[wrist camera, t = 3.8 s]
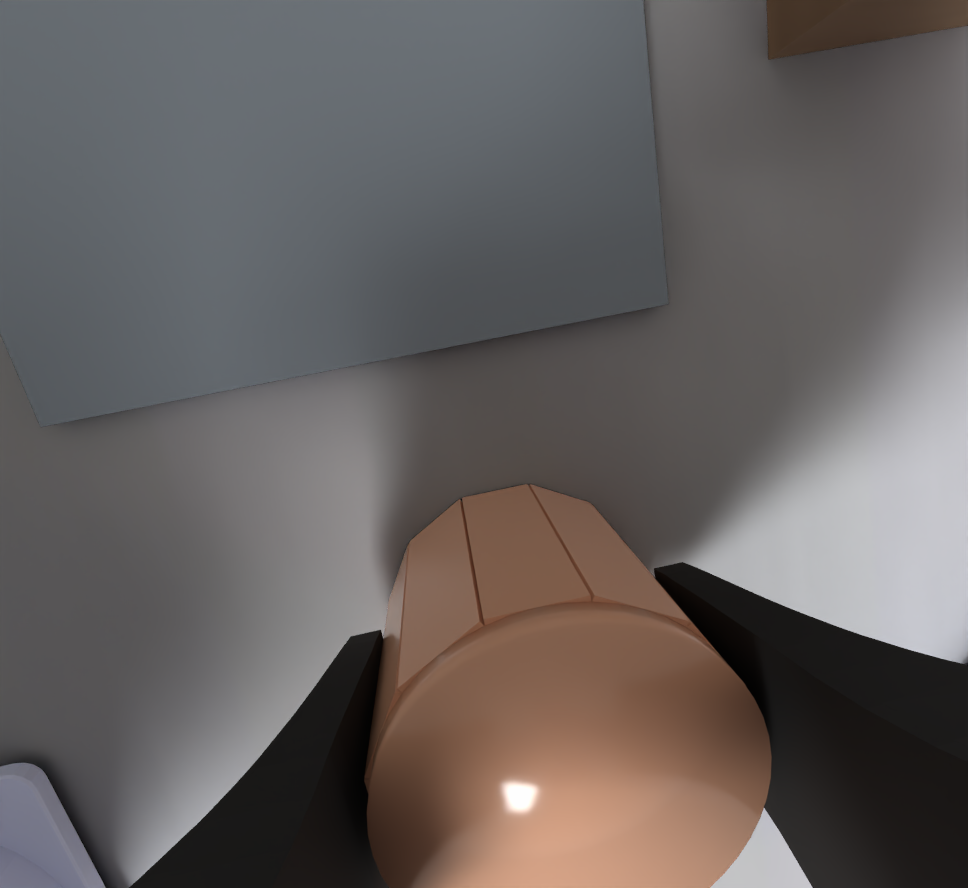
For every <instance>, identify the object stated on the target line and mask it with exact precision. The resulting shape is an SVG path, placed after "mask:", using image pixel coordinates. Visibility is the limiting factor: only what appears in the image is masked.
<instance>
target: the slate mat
mask: <svg viewBox="0 0 968 888" xmlns="http://www.w3.org/2000/svg"><path fill="white" fill-rule="evenodd" d="M667 304H669V302H668V290H667V278H666V266H665V254H664V242H663V231H662V219H661V207H660V195H659V183H658V171H657V159H656V147H655V135H654V123H653V111H652V99H651V87H650V75H649V63H648V51H647V39H646V27H645V15H644V3H643V0H0V335H1V337H2V339H3V342H4V344H5V346H6V349H7V351H8V353H9V356H10V358H11V360H12V363H13V365H14V367H15V369H16V372H17V374H18V376H19V379H20V381H21V383H22V386H23V388H24V390H25V393H26V395H27V397H28V400H29V402H30V404H31V407H32V409H33V411H34V413H35V416H36V418H37V420H38V423H39V425H40V427H44V426H49V425H54V424H60V423H65V422H70V421H75V420H80V419H85V418H90V417H95V416H100V415H106V414H111V413H116V412H121V411H126V410H131V409H136V408H141V407H146V406H151V405H157V404H162V403H167V402H172V401H177V400H182V399H187V398H192V397H197V396H203V395H208V394H213V393H218V392H223V391H228V390H233V389H238V388H243V387H248V386H254V385H259V384H264V383H269V382H274V381H279V380H284V379H289V378H294V377H299V376H305V375H310V374H315V373H320V372H325V371H330V370H335V369H340V368H345V367H351V366H356V365H361V364H366V363H371V362H376V361H381V360H386V359H391V358H396V357H402V356H407V355H412V354H417V353H422V352H427V351H432V350H437V349H442V348H448V347H453V346H458V345H463V344H468V343H473V342H478V341H483V340H488V339H493V338H499V337H504V336H509V335H514V334H519V333H524V332H529V331H534V330H539V329H544V328H550V327H555V326H560V325H565V324H570V323H575V322H580V321H585V320H590V319H596V318H601V317H606V316H611V315H616V314H621V313H626V312H631V311H636V310H641V309H647V308H652V307H657V306H662V305H667Z"/></svg>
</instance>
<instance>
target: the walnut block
mask: <svg viewBox="0 0 968 888" xmlns="http://www.w3.org/2000/svg"><path fill="white" fill-rule="evenodd" d="M962 26H968V0H767V28H768V60H770V59H775V58H781V57H787V56H793V55H799V54H805V53H810V52H816V51H822V50H828V49H834V48H839V47H845V46H851V45H857V44H863V43H869V42H874V41H880V40H886V39H892V38H898V37H904V36H909V35H915V34H921V33H927V32H933V31H939V30H944V29H950V28H956V27H962Z"/></svg>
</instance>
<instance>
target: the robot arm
mask: <svg viewBox="0 0 968 888" xmlns="http://www.w3.org/2000/svg"><path fill="white" fill-rule="evenodd" d="M654 572H655V578H656V580H657V581H658V582H659V583H660V584H661V585H662V587H663V588H664V589H665V590H666V591H667V593H668V594H669V595H670V596H671V597H672V598H673V600H674V601H675V602H676V603H677V604H678V606H679V607H680V608H681V609H682V610H683V611H684V613H685V614H686V615H687V616H688V617H689V619H690V620H691V621H692V622H693V623H694V624H695V626H696V627H697V628H698V629H699V630H700V632H701V633H702V634H703V635H704V636H705V637H706V639H707V640H708V641H709V642H710V643H711V644H712V646H713V647H714V648H715V649H716V650H717V652H718V653H719V654H720V655H721V656H722V657H723V659H724V660H725V661H726V662H727V663H728V665H729V666H730V667H731V668H732V669H733V670H734V672H735V673H736V674H737V675H738V676H739V678H740V679H741V680H742V681H743V682H744V683H745V685H746V687H747V689H748V690H749V691H750V693H751V694H752V696H753V697H754V699H755V701H756V703H757V705H758V707H759V709H760V711H761V713H762V715H763V718H764V721H765V724H766V728H767V731H768V734H769V740H770V748H771V756H772V759H771V779H770V784H769V789H768V795H767V799H766V802H765V805H764V808H765V809H766V811H767V812H768V814H769V816H770V817H771V819H772V820H773V822H774V823H775V825H776V826H777V828H778V829H779V831H780V833H781V834H782V836H783V838H784V839H785V841H786V843H787V844H788V846H789V848H790V850H791V851H792V853H793V855H794V856H795V858H796V860H797V861H798V863H799V865H800V867H801V868H802V870H803V872H804V873H805V875H806V877H807V879H808V880H809V882H810V884H811V885H812V887H813V888H968V665H964V664H960V663H956V662H952V661H948V660H944V659H940V658H936V657H933V656H929V655H925V654H922V653H918V652H914V651H911V650H908V649H904V648H901V647H898V646H895V645H891V644H888V643H885V642H882V641H879V640H875V639H872V638H869V637H866V636H862V635H860V634H857V633H854V632H851V631H848V630H845V629H842V628H839V627H837V626H834V625H831V624H829V623H826V622H823V621H821V620H818V619H815V618H813V617H810V616H807V615H805V614H802V613H800V612H797V611H795V610H792V609H790V608H787V607H785V606H782V605H780V604H778V603H775V602H773V601H771V600H768V599H766V598H764V597H761V596H759V595H757V594H754V593H752V592H750V591H748V590H745V589H743V588H741V587H739V586H736V585H734V584H732V583H730V582H728V581H725V580H723V579H721V578H719V577H717V576H714V575H712V574H710V573H708V572H705V571H703V570H701V569H698V568H696V567H694V566H691V565H688V564H686V563H683V562H682V563H677V564H673V565H668V566H664V567H659V568H655V569H654ZM382 646H383V636H382V633H381V630H378V631H374V632H369V633H365V634H360V635H356V636H351V637H350V638H349V640H348V641H347V642H346V644H345V645H344V647H343V648H342V649H341V651H340V652H339V654H338V655H337V656H336V658H335V659H334V661H333V662H332V663H331V665H330V666H329V668H328V669H327V670H326V672H325V673H324V675H323V676H322V677H321V679H320V680H319V682H318V683H317V684H316V686H315V687H314V689H313V690H312V691H311V693H310V694H309V695H308V697H307V698H306V699H305V701H304V702H303V703H302V705H301V706H300V707H299V709H298V710H297V711H296V713H295V714H294V715H293V717H292V718H291V719H290V720H289V722H288V723H287V724H286V725H285V726H284V728H283V729H282V730H281V731H280V733H279V734H278V735H277V736H276V738H275V739H274V740H273V741H272V742H271V744H270V745H269V746H268V747H267V749H266V750H265V751H264V752H263V754H262V755H261V756H260V757H259V758H258V760H257V761H256V762H255V763H254V764H253V765H252V766H251V768H250V769H249V770H248V771H247V772H246V773H245V774H244V775H243V777H242V778H241V779H240V780H239V781H238V782H237V783H236V784H235V785H234V786H233V788H232V789H231V790H230V791H229V792H228V793H227V794H226V795H225V796H224V797H223V798H222V799H221V800H220V801H219V802H218V803H217V804H216V805H215V806H214V808H213V809H212V810H211V811H210V812H209V813H208V814H207V815H206V816H205V817H204V818H203V819H202V820H201V821H200V822H199V823H198V824H197V825H196V826H195V827H194V828H193V829H191V830H190V831H189V832H188V833H187V834H186V835H185V836H184V837H183V838H182V839H181V840H180V841H179V842H178V843H177V844H176V845H175V846H173V847H172V848H171V849H170V850H169V851H168V852H167V853H166V854H165V855H164V856H163V857H162V858H161V859H160V860H159V861H158V862H156V863H155V864H154V865H153V866H152V867H151V868H150V869H149V870H148V871H147V872H146V873H145V874H144V875H143V876H142V877H141V878H139V879H138V880H137V881H136V882H135V883H134V884H133V885H132V886H130V887H129V888H389V887H388V885H387V884H386V882H385V880H384V879H383V877H382V876H381V874H380V871H379V869H378V867H377V864H376V862H375V860H374V857H373V854H372V850H371V846H370V842H369V837H368V828H367V805H368V796H369V794H368V791H367V788H366V785H365V782H364V778H365V777H364V775H365V768H366V761H367V754H368V746H369V739H370V732H371V725H372V718H373V710H374V703H375V696H376V689H377V681H378V674H379V667H380V660H381V653H382ZM0 888H106V887H105V885H104V884H103V882H102V880H101V878H100V876H99V874H98V872H97V870H96V868H95V867H94V865H93V863H92V861H91V859H90V857H89V855H88V853H87V851H86V850H85V848H84V846H83V844H82V842H81V840H80V838H79V836H78V834H77V833H76V831H75V829H74V827H73V825H72V823H71V821H70V819H69V817H68V815H67V814H66V812H65V810H64V808H63V806H62V804H61V802H60V800H59V798H58V797H57V795H56V793H55V791H54V789H53V787H52V785H51V783H50V781H49V780H48V778H47V776H46V774H45V773H44V772H43V770H42V769H41V768H39V767H37V766H35V765H33V764H29V763H13V764H9V765H5V766H0Z"/></svg>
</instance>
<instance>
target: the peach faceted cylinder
mask: <svg viewBox="0 0 968 888" xmlns="http://www.w3.org/2000/svg"><path fill="white" fill-rule="evenodd" d="M462 501H463V502H462ZM462 501H461V500H460V499H459V500H458V501H456V502H455V503H454V504H453V505H452V506H451V507H449V508H448V509H447V510H446V511H445V512H443V513H442V514H441V515H440V516H439V517H438V518H436V519H435V520H434V521H433V522H432V523H431V524H429V525H428V526H427V527H426V528H425V529H423V530H422V531H421V532H420V533H419V534H418V535H416V536H415V537H414V538H413V539H412V540H411V541H410V543H408V545H407V548H406V551H405V554H404V557H403V560H402V563H401V566H400V569H399V572H398V575H397V577H396V580H395V583H394V586H393V589H392V592H391V595H390V598H389V602H388V609H387V616H386V623H385V631H384V638H383V646H382V653H381V660H380V667H379V674H378V681H377V689H376V696H375V703H374V710H373V718H372V725H371V732H370V739H369V746H368V754H367V761H366V768H365V775H364V777H365V778H364V782H365V785H366V788H367V791H368V794H369V796H368V805H367V828H368V837H369V842H370V846H371V850H372V854H373V857H374V860H375V862H376V864H377V867H378V869H379V871H380V874H381V876H382V877H383V879H384V880H385V882H386V884H387V885H388V887H389V888H710V887H711V886H712V885H713V884H714V883H715V882H716V881H717V880H718V879H719V878H720V877H721V876H722V875H723V874H724V873H725V872H726V871H727V869H728V868H729V867H730V866H731V865H732V863H733V862H734V861H735V860H736V859H737V857H738V856H739V854H740V853H741V851H742V850H743V848H744V847H745V845H746V844H747V842H748V841H749V839H750V838H751V835H752V833H753V831H754V829H755V827H756V825H757V823H758V821H759V819H760V817H761V814H762V811H763V808H764V805H765V802H766V799H767V795H768V789H769V784H770V779H771V759H772V756H771V748H770V740H769V734H768V731H767V728H766V724H765V721H764V718H763V715H762V713H761V711H760V709H759V707H758V705H757V703H756V701H755V699H754V697H753V696H752V694H751V693H750V691H749V690H748V689H747V687H746V685H745V683H744V682H743V681H742V680H741V679H740V678H739V676H738V675H737V674H736V673H735V672H734V670H733V669H732V668H731V667H730V666H729V665H728V663H727V662H726V661H725V660H724V659H723V657H722V656H721V655H720V654H719V653H718V652H717V650H716V649H715V648H714V647H713V646H712V644H711V643H710V642H709V641H708V640H707V639H706V637H705V636H704V635H703V634H702V633H701V632H700V630H699V629H698V628H697V627H696V626H695V624H694V623H693V622H692V621H691V620H690V619H689V617H688V616H687V615H686V614H685V613H684V611H683V610H682V609H681V608H680V607H679V606H678V604H677V603H676V602H675V601H674V600H673V598H672V597H671V596H670V595H669V594H668V593H667V591H666V590H665V589H664V588H663V587H662V585H661V584H660V583H659V582H658V581H657V580H656V578H655V577H654V576H653V575H652V574H651V573H650V571H649V570H648V569H647V568H646V567H645V565H644V564H643V563H642V562H641V561H640V560H639V558H638V557H637V556H636V555H635V554H634V552H633V551H632V550H631V549H630V548H629V547H628V545H627V544H626V543H625V542H624V541H623V540H622V538H621V537H620V536H619V535H618V534H617V533H616V531H615V530H614V529H613V528H612V527H611V526H610V524H609V523H608V522H607V521H606V520H605V519H604V517H603V516H602V515H601V514H600V513H599V512H598V510H597V509H596V508H595V507H594V506H593V505H592V504H591V503H590V502H587V501H583V500H580V499H577V498H574V497H570V496H567V495H564V494H561V493H557V492H554V491H551V490H548V489H544V488H541V487H538V486H535V485H531V484H530V485H529V486H528V485H527V484H524V485H519V486H515V487H510V488H505V489H501V490H496V491H491V492H486V493H482V494H477V495H472V496H468V497H463V498H462Z"/></svg>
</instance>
